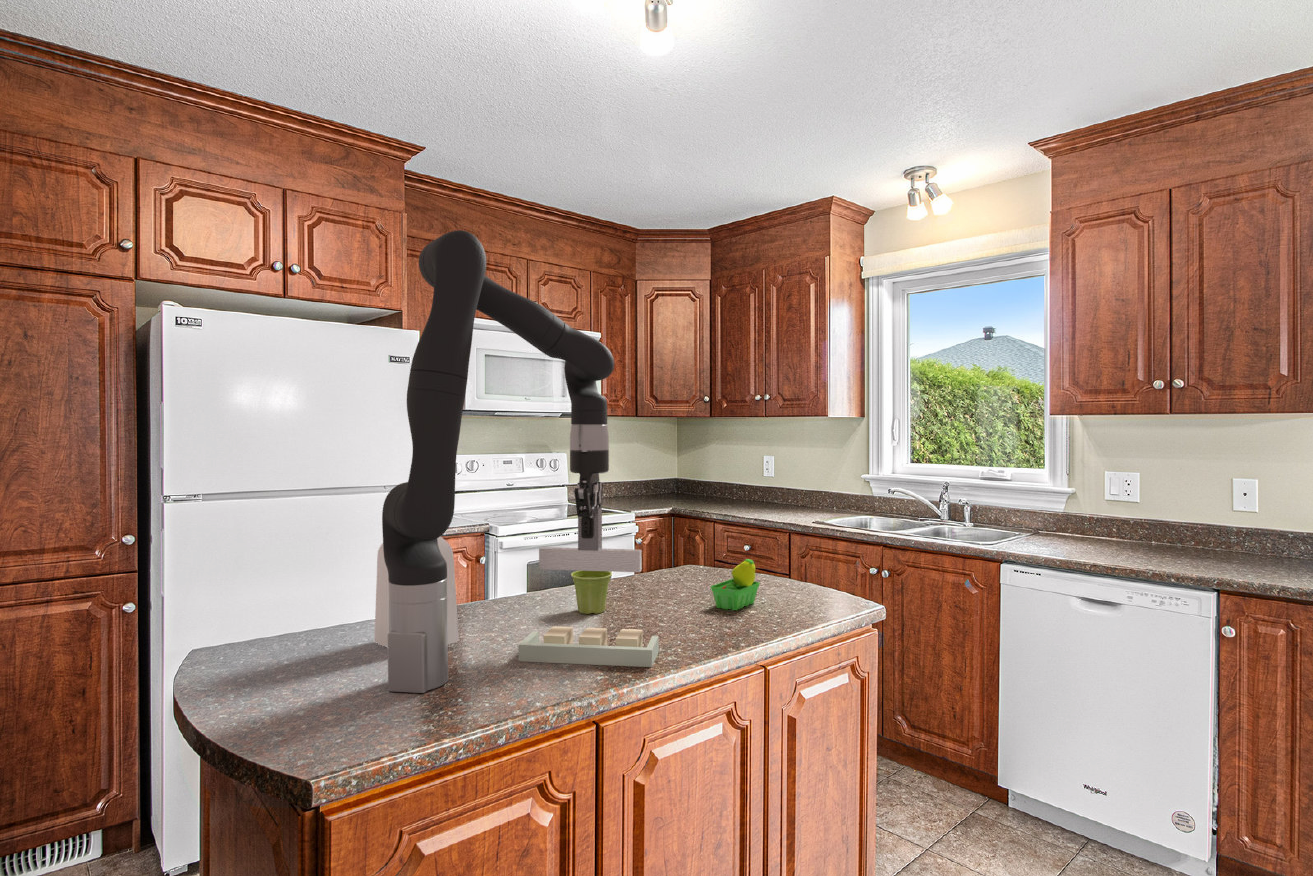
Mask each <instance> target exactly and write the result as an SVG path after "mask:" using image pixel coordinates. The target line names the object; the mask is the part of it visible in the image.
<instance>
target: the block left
mask: <svg viewBox="0 0 1313 876" xmlns="http://www.w3.org/2000/svg"><path fill="white" fill-rule="evenodd" d="M542 637H543V641H542V642H543V643H551V644H574V627H573V626H554V625H552V626H551V627H550V628H549V629H548V631H546V632H545V634H543V636H542Z"/></svg>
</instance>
